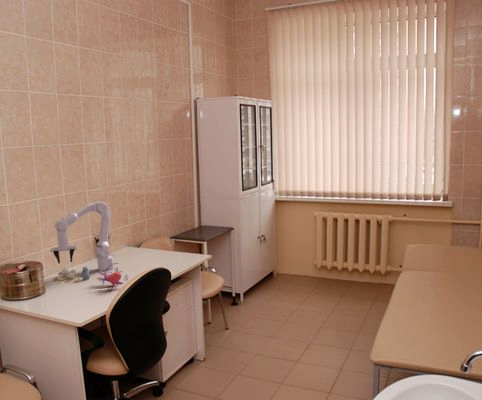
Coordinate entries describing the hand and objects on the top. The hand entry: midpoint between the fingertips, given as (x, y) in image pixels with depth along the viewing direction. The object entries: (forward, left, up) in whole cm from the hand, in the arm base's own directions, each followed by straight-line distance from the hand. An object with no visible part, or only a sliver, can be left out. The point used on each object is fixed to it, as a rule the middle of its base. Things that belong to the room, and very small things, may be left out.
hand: (65, 262), depth 285 cm
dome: (0, 0, -10) cm, 10 cm away
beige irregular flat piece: (-5, +4, -10) cm, 12 cm away
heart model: (-27, +26, -11) cm, 39 cm away
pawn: (-12, +8, -9) cm, 17 cm away
